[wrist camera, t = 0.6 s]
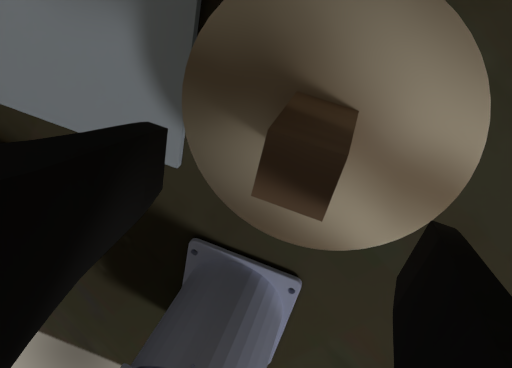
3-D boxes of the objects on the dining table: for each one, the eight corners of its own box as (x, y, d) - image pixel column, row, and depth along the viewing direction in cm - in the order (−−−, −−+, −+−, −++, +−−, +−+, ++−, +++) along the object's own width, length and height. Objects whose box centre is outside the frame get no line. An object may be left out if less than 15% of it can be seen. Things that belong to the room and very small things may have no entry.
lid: (402, 274, 18) (405, 363, 14) (177, 190, 20) (121, 247, 16) (563, 9, 12) (652, 33, 8) (210, -82, 13) (132, -101, 9)
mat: (180, 164, 24) (177, 168, 23) (-8, 95, 26) (-15, 98, 25) (215, -116, 16) (211, -118, 16) (-56, -183, 18) (-67, -186, 18)
